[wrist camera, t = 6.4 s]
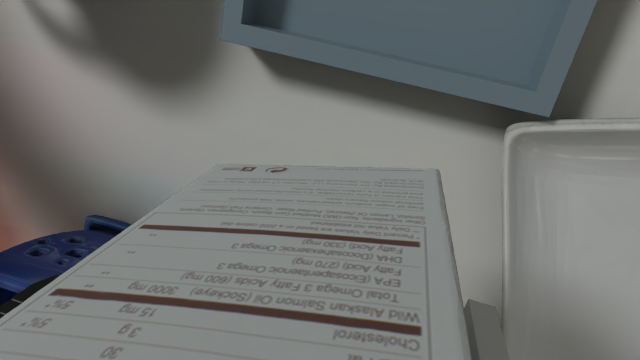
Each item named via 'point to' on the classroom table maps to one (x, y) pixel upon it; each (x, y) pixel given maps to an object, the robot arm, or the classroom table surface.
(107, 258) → the supplement box
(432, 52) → the tray
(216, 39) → the classroom table surface
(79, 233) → the flower pot
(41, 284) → the robot arm
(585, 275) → the square plate
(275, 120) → the classroom table surface
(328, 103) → the classroom table surface
